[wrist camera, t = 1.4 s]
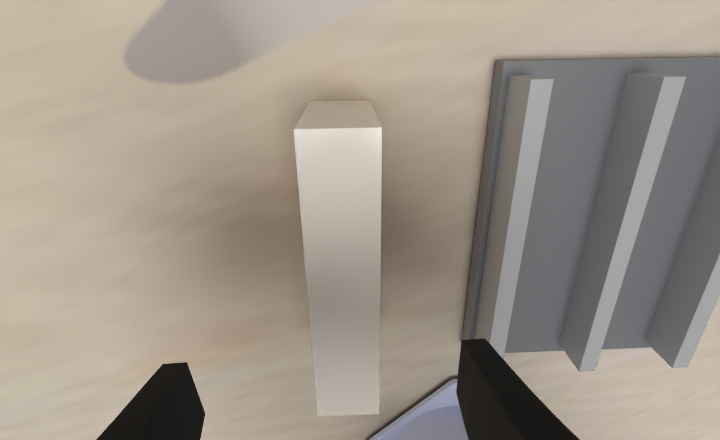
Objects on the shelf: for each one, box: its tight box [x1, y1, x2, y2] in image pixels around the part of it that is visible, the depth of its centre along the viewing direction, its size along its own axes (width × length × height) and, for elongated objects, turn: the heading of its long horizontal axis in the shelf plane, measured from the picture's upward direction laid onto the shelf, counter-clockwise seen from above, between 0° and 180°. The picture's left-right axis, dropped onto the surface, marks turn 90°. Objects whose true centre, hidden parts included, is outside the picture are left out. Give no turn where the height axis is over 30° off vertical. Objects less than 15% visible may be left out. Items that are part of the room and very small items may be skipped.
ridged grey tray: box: [462, 57, 720, 372], centre depth 18 cm, size 15×11×3 cm
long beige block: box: [294, 100, 382, 417], centre depth 17 cm, size 12×3×6 cm, turn 1°
